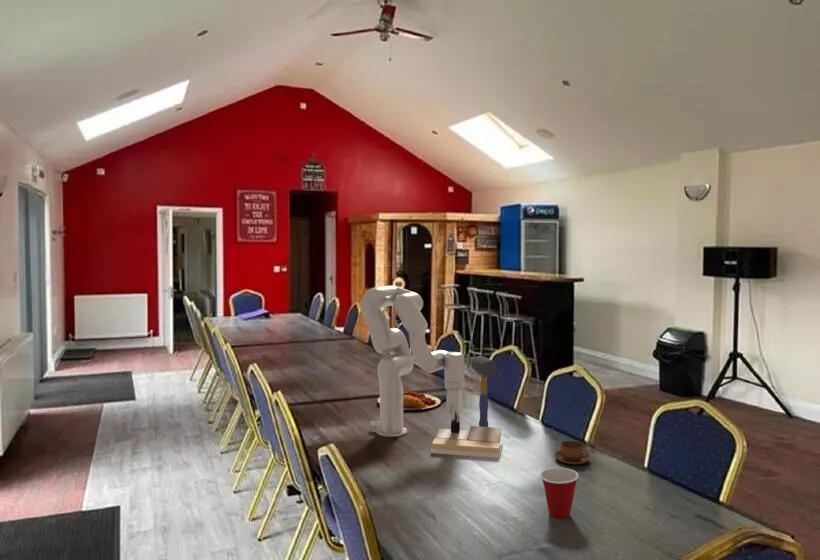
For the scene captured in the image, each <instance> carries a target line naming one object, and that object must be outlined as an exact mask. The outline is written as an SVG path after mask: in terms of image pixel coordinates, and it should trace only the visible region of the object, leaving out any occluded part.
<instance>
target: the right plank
mask: <svg viewBox="0 0 820 560" xmlns="http://www.w3.org/2000/svg"><path fill="white" fill-rule="evenodd" d="M468 431H469V437H468V440H469V441H483V442H496V443H500V442H501V438H502V427H493V426H492V427H491V426H488V427H479V425H478V426H477V425H476V426H475V425H470V426H469V429H468Z"/></svg>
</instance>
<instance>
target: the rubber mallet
mask: <svg viewBox="0 0 820 560" xmlns="http://www.w3.org/2000/svg"><path fill="white" fill-rule="evenodd" d="M470 365H471V368H472V369H473V371H475V372H476V373H477V374H478V375H481V376H480V395H479V401H478V402H479V403H478V404H479V405H478V407H479V421H478V426H479V427H489V421H488V419H489V418H488V415H489V414H488V412H489V397H488V378H491V377H494V376H495V375H496V374H497V371H498V366H497V364H496V362H494V360H492V359H490V358H488V357H486V356H482V355H477V356H475V357H473V359H472V361H471V364H470Z"/></svg>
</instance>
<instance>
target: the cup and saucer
mask: <svg viewBox="0 0 820 560" xmlns="http://www.w3.org/2000/svg"><path fill="white" fill-rule="evenodd" d="M589 455H590V453H589V451H588V450H587V449H585V448H584V445H583V443H581V442H579V441H574V440H565V441H562V442H561V450H559V451H556V452H555V453H554V458H555V459H556V460H558V461H559V462H560V463H563V464H567V465H583V464H585V463H587V462H589V461H590V456H589Z"/></svg>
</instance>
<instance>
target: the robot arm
mask: <svg viewBox="0 0 820 560" xmlns="http://www.w3.org/2000/svg"><path fill="white" fill-rule="evenodd" d="M385 307H393V309H394V311H395V312H396V314H397V316H398V317H399V320H400V321H401V323H402V324H403V326H404V328H405V330H406V331H407V333H408V336H409V343H408V340H407V338H406V336H405V334H404V332H403V331H402V330H401V329H399V328H396V327H390V324H389V321H388V318H387V317H386V315H385V313H384V312H383V311H382V308H385ZM423 307H424V300H423V298H422V296H421V295H420V294H419V293H417V292H414V291H411V290H408V289H406V288H402V287H400V286H395V285H384V286H375V287H372V288H370V289H368V290H367V291H365V292H364V294H363V296H362V298H361V301H360V308H361V313H362V315H363V318H364V321H365V324H366V326H367V329H368V331H369V335H370V340H371V343H372V346H373V348H374V350H375V351H376V352H377V353H378V354H381V355H382V354H383V355H384V354H388V353H389V355H387V356H385V357H383V358H382V359H380V361H379V362H378V364H377V375H378V383H379V397H380V403H379V420H377V421H376V420H370V423H369V425H370V426H371V428H376V429H375V432H376V434H377V435H378V436H381V437H389V438H394V437H401V436H404V435H406V434H407V432H408V429H407V428H406V427H404V407H403V392H404V386H403V382H402V379H401V377H404V376H407V375H409V374H410V373H411V372H412V370H413V368H414V359H415V361H416V363H417V365H418V366H419V368H420V369H421V370H422V371H424V372H425V373H428V374H430V373H431V374H432V373H435V372H438V371H440V370H444V389H445V390H446V395H447V398H446V404H445V405H446V407H445V409H446V411H445V413H446V414H445V415H446V416H447V417H448V416H450V429H451V432H452V433H459V431H460V430H461V428H460V427H461V425H460V424H461V423H460V415H461V413H462V409H463V396H462V395H463V393H462V392H463V390H465V356H464V354H463V353H462V352H459V351H447V350H444V349H443V350H442V349H436V350H433V351H431V350H430V348H429V346H428V344H427V342H426V331H427V329H428V325H429V324H428V322H427V320H426V319H425V316H424V315H423V313H422V312H421V310H422V309H423ZM409 346H410V347H409ZM412 356H413V357H412ZM413 358H414V359H413Z"/></svg>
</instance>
